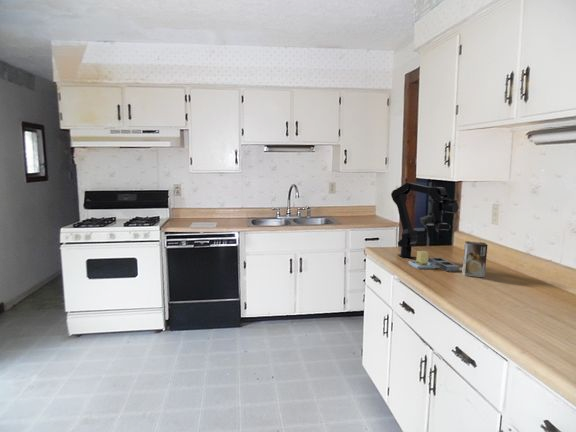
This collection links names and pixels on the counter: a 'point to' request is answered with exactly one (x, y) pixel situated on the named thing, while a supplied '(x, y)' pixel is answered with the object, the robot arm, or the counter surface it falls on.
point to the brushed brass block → (422, 258)
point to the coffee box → (474, 259)
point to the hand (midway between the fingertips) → (434, 239)
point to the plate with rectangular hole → (444, 264)
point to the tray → (430, 266)
